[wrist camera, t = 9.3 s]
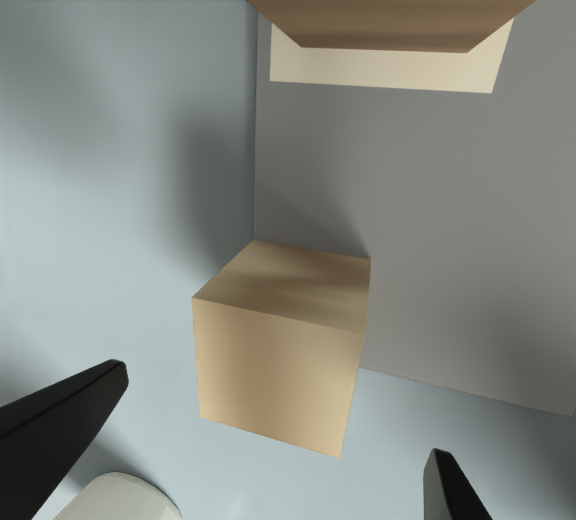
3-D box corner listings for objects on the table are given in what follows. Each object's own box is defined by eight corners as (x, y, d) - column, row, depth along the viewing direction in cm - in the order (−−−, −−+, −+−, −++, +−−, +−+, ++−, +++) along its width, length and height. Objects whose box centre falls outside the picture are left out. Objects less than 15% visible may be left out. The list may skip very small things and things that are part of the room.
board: (1254, -737, 4) (1382, -862, 4) (563, 405, 14) (571, 418, 13) (277, -443, 7) (269, -489, 7) (254, 334, 17) (250, 342, 16)
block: (371, 259, 13) (365, 334, 8) (352, 357, 15) (339, 458, 10) (253, 239, 14) (191, 297, 9) (250, 333, 16) (199, 416, 11)
